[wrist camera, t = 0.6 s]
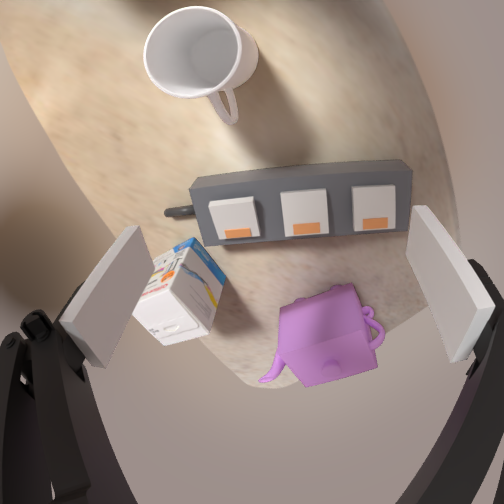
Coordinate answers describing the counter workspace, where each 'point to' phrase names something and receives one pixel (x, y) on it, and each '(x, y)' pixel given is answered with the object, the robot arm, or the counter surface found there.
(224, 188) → the power strip
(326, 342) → the teapot
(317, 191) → the rocker
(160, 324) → the ink box
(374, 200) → the rocker
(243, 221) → the rocker
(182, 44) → the mug
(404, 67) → the counter surface
